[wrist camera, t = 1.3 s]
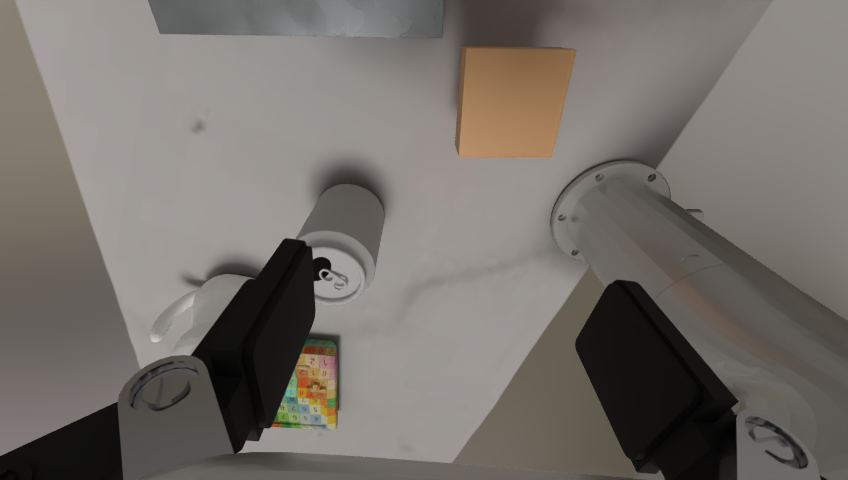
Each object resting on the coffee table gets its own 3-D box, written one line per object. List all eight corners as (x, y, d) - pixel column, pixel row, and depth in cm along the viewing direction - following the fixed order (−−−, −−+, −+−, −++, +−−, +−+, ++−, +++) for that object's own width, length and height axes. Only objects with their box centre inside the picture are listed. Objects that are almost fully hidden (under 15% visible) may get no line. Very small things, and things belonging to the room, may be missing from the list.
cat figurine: (291, 317, 46) (246, 426, 34) (198, 312, 45) (115, 422, 33) (284, 267, 41) (229, 373, 29) (179, 260, 40) (74, 366, 28)
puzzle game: (333, 361, 45) (334, 435, 55) (340, 334, 49) (340, 408, 59) (244, 354, 44) (263, 431, 54) (259, 327, 48) (274, 404, 58)
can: (339, 166, 34) (306, 225, 24) (398, 205, 37) (390, 273, 27) (306, 216, 37) (265, 286, 27) (362, 249, 40) (343, 324, 30)
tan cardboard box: (534, 43, 28) (576, 49, 21) (520, 126, 32) (551, 157, 25) (453, 42, 28) (466, 48, 21) (449, 126, 32) (458, 156, 24)
